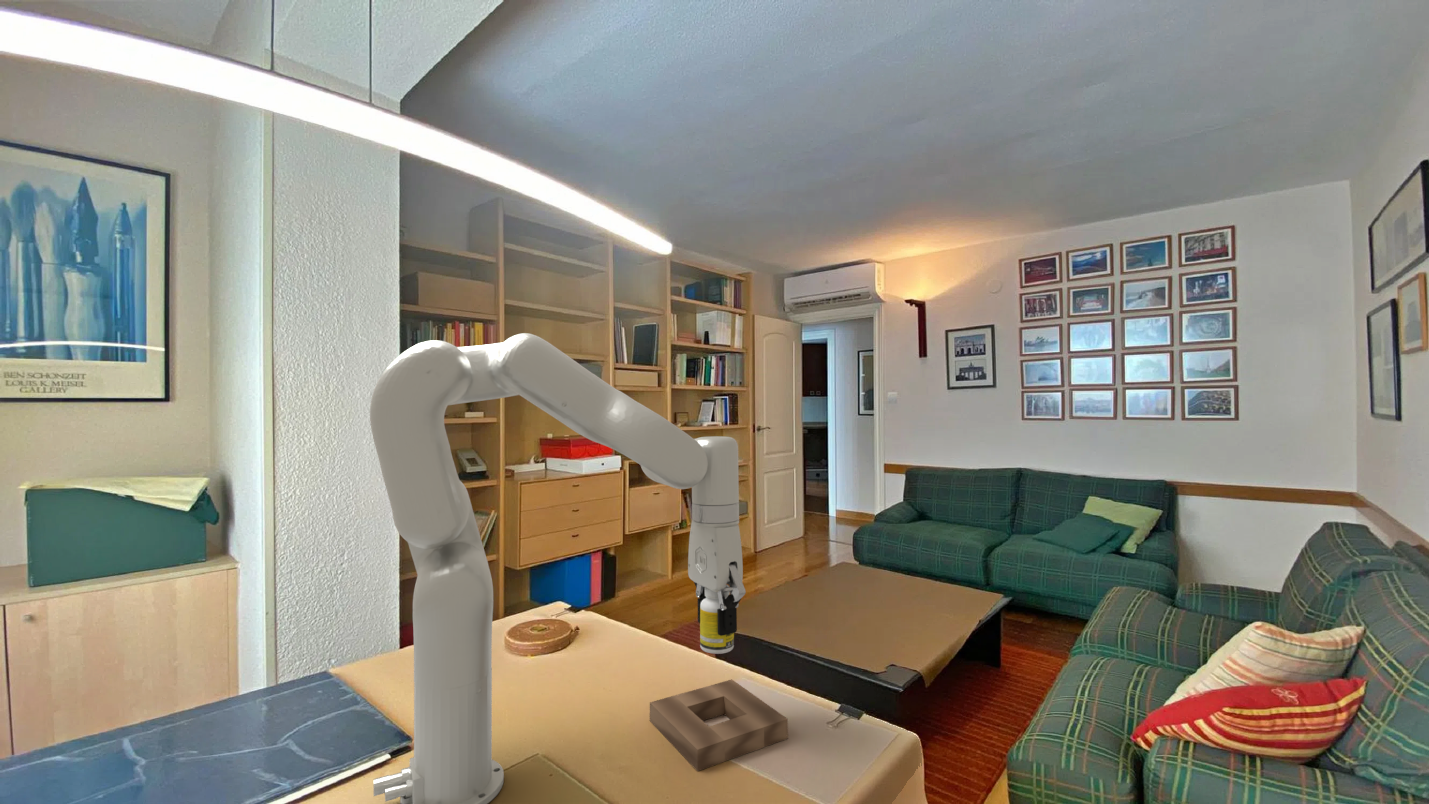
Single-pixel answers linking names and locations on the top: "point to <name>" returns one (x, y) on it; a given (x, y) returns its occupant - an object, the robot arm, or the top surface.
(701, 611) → the supplement bottle
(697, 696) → the socket block
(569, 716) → the top surface
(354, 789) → the top surface
